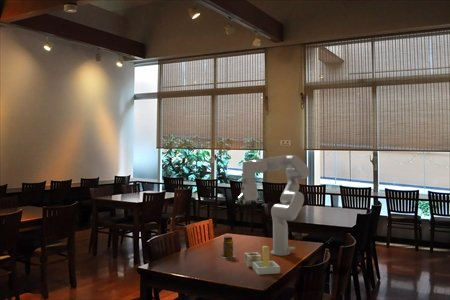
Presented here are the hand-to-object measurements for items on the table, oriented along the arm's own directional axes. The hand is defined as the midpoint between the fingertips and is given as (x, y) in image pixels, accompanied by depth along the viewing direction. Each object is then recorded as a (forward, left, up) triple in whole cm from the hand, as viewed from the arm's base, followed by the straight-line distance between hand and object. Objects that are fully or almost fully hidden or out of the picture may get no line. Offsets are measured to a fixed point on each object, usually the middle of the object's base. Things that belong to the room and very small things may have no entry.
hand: (249, 210), depth 236 cm
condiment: (+11, -14, -31) cm, 35 cm away
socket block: (0, +8, -30) cm, 31 cm away
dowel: (-4, +21, -29) cm, 36 cm away
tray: (-4, +21, -30) cm, 37 cm away
